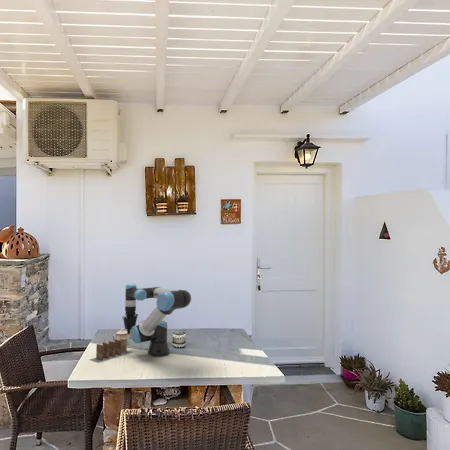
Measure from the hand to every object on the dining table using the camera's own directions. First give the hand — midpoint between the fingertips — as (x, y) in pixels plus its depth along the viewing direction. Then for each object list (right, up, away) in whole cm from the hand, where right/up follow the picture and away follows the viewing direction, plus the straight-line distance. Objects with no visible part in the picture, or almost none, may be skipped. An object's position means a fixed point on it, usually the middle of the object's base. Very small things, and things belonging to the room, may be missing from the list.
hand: (129, 338), depth 304 cm
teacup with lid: (-11, -9, +17) cm, 22 cm away
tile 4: (-12, -9, -17) cm, 23 cm away
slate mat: (-10, -9, -13) cm, 19 cm away
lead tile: (-4, -9, -5) cm, 11 cm away
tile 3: (-9, -9, -13) cm, 18 cm away
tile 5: (-15, -9, -21) cm, 28 cm away
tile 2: (-7, -9, -9) cm, 14 cm away
